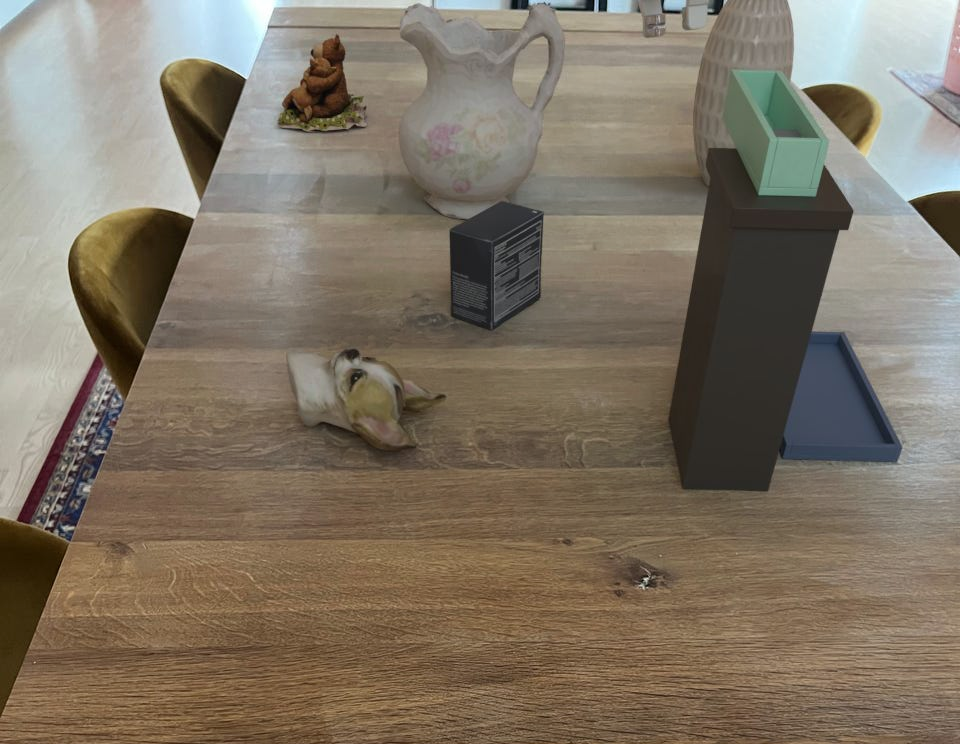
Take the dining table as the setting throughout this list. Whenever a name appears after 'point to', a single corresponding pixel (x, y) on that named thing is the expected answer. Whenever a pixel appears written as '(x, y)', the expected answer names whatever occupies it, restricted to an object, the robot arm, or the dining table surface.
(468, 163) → the ceramic pitcher
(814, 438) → the tray
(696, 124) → the vase
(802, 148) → the slim bin
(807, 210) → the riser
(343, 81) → the bear figurine
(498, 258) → the small box
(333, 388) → the ceramic sculpture
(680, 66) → the dining table surface
